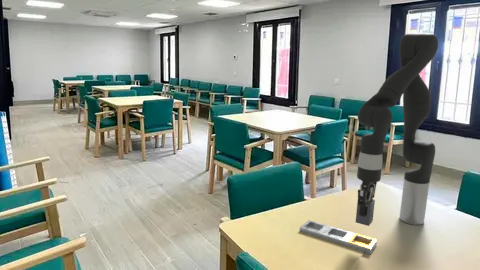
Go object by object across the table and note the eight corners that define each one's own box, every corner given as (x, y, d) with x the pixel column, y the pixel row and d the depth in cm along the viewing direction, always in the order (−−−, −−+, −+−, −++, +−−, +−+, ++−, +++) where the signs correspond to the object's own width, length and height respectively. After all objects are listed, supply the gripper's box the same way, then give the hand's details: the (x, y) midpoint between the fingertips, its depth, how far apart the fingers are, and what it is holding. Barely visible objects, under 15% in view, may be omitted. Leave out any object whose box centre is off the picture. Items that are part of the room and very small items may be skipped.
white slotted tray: (308, 224, 143) (308, 219, 142) (376, 245, 128) (377, 239, 128) (299, 232, 136) (299, 227, 136) (369, 254, 122) (370, 248, 121)
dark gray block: (359, 217, 128) (361, 194, 126) (372, 221, 126) (375, 197, 124) (355, 222, 124) (357, 198, 123) (368, 226, 122) (371, 202, 120)
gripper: (375, 173, 113) (370, 223, 117) (386, 162, 124) (381, 209, 128) (351, 168, 117) (347, 217, 121) (364, 159, 129) (360, 204, 132)
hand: (364, 213), depth 124 cm, fingers closed on dark gray block, 4 cm apart
